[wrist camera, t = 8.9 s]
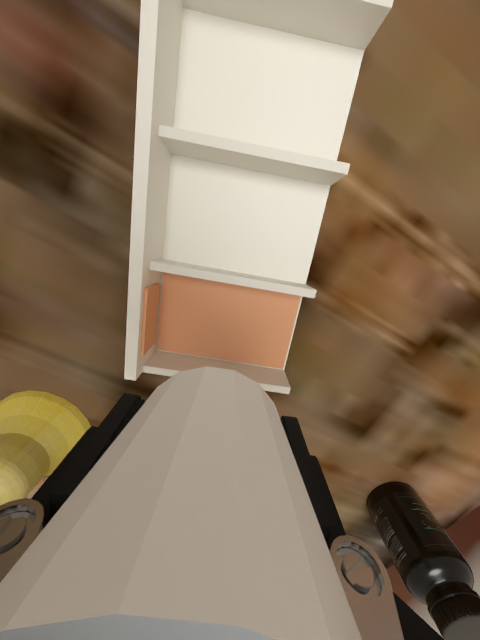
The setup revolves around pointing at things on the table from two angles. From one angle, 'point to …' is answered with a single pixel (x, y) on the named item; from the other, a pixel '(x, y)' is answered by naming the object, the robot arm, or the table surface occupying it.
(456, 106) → the table surface
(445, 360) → the table surface
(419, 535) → the supplement bottle
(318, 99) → the rack
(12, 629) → the white and grey cylinder
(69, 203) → the table surface
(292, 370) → the table surface
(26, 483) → the handbell
